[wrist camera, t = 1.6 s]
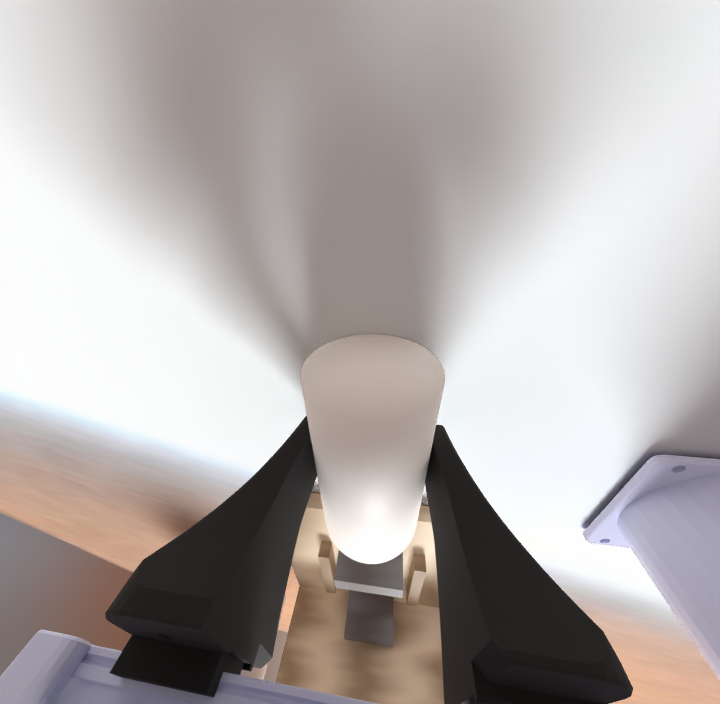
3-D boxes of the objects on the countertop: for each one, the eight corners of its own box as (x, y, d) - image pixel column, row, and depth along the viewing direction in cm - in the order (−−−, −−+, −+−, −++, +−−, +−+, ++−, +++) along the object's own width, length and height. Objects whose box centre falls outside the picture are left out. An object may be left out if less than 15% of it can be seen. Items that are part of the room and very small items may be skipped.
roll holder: (482, 512, 16) (531, 691, 10) (444, 599, 25) (459, 726, 19) (274, 488, 18) (214, 632, 12) (304, 577, 26) (277, 688, 20)
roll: (434, 336, 10) (459, 425, 6) (414, 470, 15) (421, 571, 11) (320, 332, 11) (276, 411, 7) (335, 462, 16) (313, 556, 12)
